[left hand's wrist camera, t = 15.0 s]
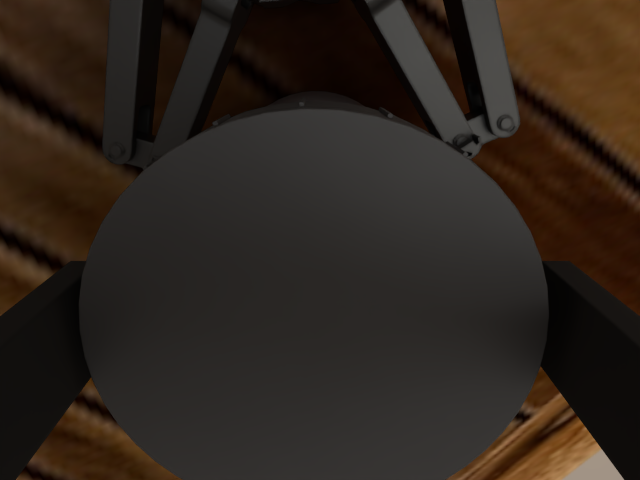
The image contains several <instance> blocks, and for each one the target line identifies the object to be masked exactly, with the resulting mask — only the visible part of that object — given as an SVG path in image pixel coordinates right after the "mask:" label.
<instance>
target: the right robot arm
mask: <svg viewBox="0 0 640 480" xmlns="http://www.w3.org/2000/svg"><path fill="white" fill-rule="evenodd" d="M297 1H300V0H202V3H201V13H200V16H199V19H198V22H197V25H196V27H195V30H194V33H193V36H192V38H191V41H190V44H189V47H188V50H187V52H186V55H185V58H184V61H183V63H182V66H181V69H180V72H179V74H178V77H177V80H176V83H175V86H174V88H173V91H172V94H171V97H170V99H169V102H168V105H167V108H166V111H165V113H164V116H163V119H162V122H161V124H160V127H159V130H158V133H157V136H154V135H152V127H153V116H154V105H155V94H156V82H157V71H158V60H159V49H160V38H161V27H162V15H163V4H164V0H110V8H109V27H108V47H107V66H106V86H105V105H104V124H103V144H102V148H103V153H104V155H105V157H106V158H107V159H108V160H109V161H110V162H112V163H114V164H124V163H126V164H130V165H134V166H137V167H141V168H144V167H145V166H146V165H148V164H150V163H151V162H153V161H155V160H156V159H158V158H160V157H162V156H163V155H164V154H165V153H167V152H168V151H170V150H171V149H173V148H175V147H177V146H178V145H180V144H182V143H183V142H185V141H187V140H189V139H190V138H192V137H194V136H196V135H197V134H199V133H201V131H202V128H203V126H204V123H205V121H206V118H207V116H208V113H209V110H210V108H211V105H212V103H213V100H214V98H215V95H216V93H217V90H218V88H219V85H220V82H221V80H222V77H223V75H224V72H225V70H226V67H227V65H228V62H229V60H230V57H231V55H232V52H233V49H234V47H235V44H236V42H237V39H238V37H239V34H240V32H241V30H242V29H243V27H244V26H245V24H246V22H247V19H248V17H249V14H250V12H251V9H252V7H253V4H254V3H255V4H257V5H261V6H263V7H264V8H277V7H284V6H287V5H289V4H292V3H295V2H297ZM303 1H307V2H312V3H317V4H330V3H338V1H339V0H303ZM351 1H352V2H353V4H354V6H355V8H356V9H357V11H358V13H359V14H360V16H361V17H362V18H363V19H364V21H365V22H366V24H367V25H368V27H369V29H370V30H371V32H372V34H373V36H374V37H375V39H376V41H377V43H378V44H379V46H380V48H381V49H382V51H383V53H384V55H385V56H386V58H387V60H388V62H389V63H390V65H391V67H392V68H393V70H394V72H395V74H396V75H397V77H398V79H399V80H400V82H401V84H402V86H403V87H404V89H405V91H406V93H407V94H408V96H409V98H410V99H411V101H412V103H413V105H414V106H415V108H416V110H417V112H418V113H419V115H420V117H421V118H422V120H423V122H424V124H425V125H426V127H427V129H428V131H429V132H430V134H432V135H433V136H435V137H437V138H438V139H440V140H442V141H443V142H445V143H446V141H448V142H450V143H451V144H453V145H455V146H457V147H458V148H460V149H462V150H463V151H465V152H466V153H468V156H467V158H469V159H470V160H471V158H473V157H475V156H476V155H477V154H478V153H479V151H480V149H481V145H482V144H484V143H487V142H489V141H491V140H494V139H496V138H499V137H501V138H505V137H509V136H511V135H513V134H514V133H515V132H516V131H517V129H518V127H519V124H520V117H519V112H518V107H517V102H516V97H515V92H514V88H513V83H512V78H511V73H510V68H509V63H508V58H507V54H506V49H505V44H504V39H503V34H502V29H501V24H500V20H499V15H498V10H497V5H496V0H443V2H444V6H445V11H446V15H447V19H448V23H449V27H450V31H451V35H452V39H453V43H454V48H455V52H456V56H457V60H458V64H459V68H460V72H461V76H462V80H463V85H464V89H465V93H466V97H467V101H468V105H469V109H470V112H469V113H467V114H465V115H463V113H462V111H461V109H460V107H459V105H458V103H457V102H456V100H455V98H454V96H453V94H452V92H451V91H450V89H449V87H448V85H447V83H446V81H445V80H444V78H443V76H442V74H441V72H440V70H439V69H438V67H437V65H436V63H435V61H434V59H433V58H432V56H431V54H430V52H429V50H428V48H427V47H426V45H425V43H424V41H423V39H422V37H421V36H420V34H419V32H418V30H417V28H416V26H415V25H414V23H413V21H412V19H411V17H410V15H409V14H408V12H407V10H406V8H405V6H404V4H403V3H402V1H401V0H351Z"/></svg>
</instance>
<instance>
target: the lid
mask: <svg viewBox="0 0 640 480" xmlns="http://www.w3.org/2000/svg"><path fill="white" fill-rule="evenodd" d="M212 123H213V126H211V127H209V128H208V129H206V130H204V131H202V132H201V133H199V134H197V135H196V136H194V137H192V138H190V139H189V140H187V141H185V142H183V143H182V144H180V145H178V146H177V147H175V148H173V149H171V150H170V151H168V152H167V153H165V154H164V155H163V156H162V157H160V158H158V159H156V160H155V161H153V162H151V163H150V164H148V165H146V166H145V167H144V168H143V170H144V171H143V172H142V173H141V174H140V175H139V176H138V177H137V178H136V179H135V180H134V181H133V182H132V183H131V184H130V185H129V187H128V188H127V189H126V190H125V191H124V192H123V193H122V194H121V195H120V196H119V198H118V199H117V201H116V202H115V204H114V205H113V207H112V208H111V210H110V211H109V213H108V214H107V216H106V217H105V218H104V220H103V221H102V224H101V226H100V228H99V230H98V232H97V234H96V236H95V239H94V241H93V243H92V245H91V247H90V250H89V253H88V257H87V260H86V264H85V267H84V271H83V274H82V280H81V289H80V297H79V329H80V336H81V341H82V346H83V352H84V357H85V360H86V363H87V365H88V368H89V371H90V374H91V377H92V380H93V382H94V384H95V386H96V388H97V390H98V392H99V394H100V396H101V398H102V400H103V402H104V404H105V405H106V407H107V408H108V410H109V411H110V413H111V414H112V416H113V417H114V418H115V420H116V421H117V423H118V424H119V426H120V427H121V428H122V429H123V430H124V431H125V432H126V433H127V435H128V436H129V437H130V438H131V439H132V440H133V441H134V442H135V444H136V445H138V446H139V447H140V448H141V449H142V450H143V451H144V452H145V453H147V454H148V455H149V456H150V457H151V458H152V459H153V460H155V461H156V462H157V463H159V464H160V465H162V466H163V467H164V468H166V469H167V470H169V471H170V472H172V473H173V474H174V475H176V476H177V477H179V478H181V479H183V480H445V479H447V478H449V477H450V476H452V475H453V474H455V473H456V472H458V471H459V470H461V469H462V468H464V467H466V466H467V465H468V464H469V463H470V462H472V461H473V460H474V459H475V458H477V457H478V456H479V455H480V454H481V453H483V452H484V451H485V450H486V449H487V448H488V447H489V446H490V445H491V444H492V443H493V442H494V441H495V440H496V439H497V438H498V437H499V436H500V435H501V434H502V433H503V431H504V430H505V429H506V427H507V426H508V425H509V424H510V422H511V421H512V420H513V418H514V417H515V416H516V414H517V413H518V412H519V410H520V408H521V406H522V405H523V403H524V401H525V399H526V398H527V396H528V394H529V392H530V391H531V388H532V386H533V383H534V381H535V378H536V376H537V373H538V371H539V368H540V366H541V362H542V358H543V354H544V350H545V345H546V341H547V332H548V321H549V305H548V289H547V283H546V278H545V274H544V269H543V265H542V260H541V257H540V255H539V252H538V250H537V247H536V245H535V242H534V239H533V237H532V234H531V232H530V230H529V229H528V227H527V225H526V223H525V222H524V220H523V218H522V217H521V215H520V213H519V211H518V210H517V208H516V207H515V205H514V204H513V203H512V202H511V200H510V199H509V198H508V197H507V195H506V194H505V193H504V192H503V191H502V189H501V188H500V187H499V186H498V184H497V183H496V182H495V181H494V180H493V179H492V178H491V177H489V176H488V175H487V174H486V173H485V172H484V171H483V170H482V169H481V168H479V167H478V166H477V165H476V164H475V163H474V162H473V161H472V160H470V159H469V158H467V156H468V153H466V152H465V151H463V150H462V149H460V148H458V147H457V146H455V145H453V144H451V143H450V142H448V141H446V143H445V142H443V141H442V140H440V139H438V138H437V137H435V136H433V135H432V134H430V133H428V132H427V131H425V130H423V129H422V128H419V127H417V126H415V125H413V124H411V123H409V122H407V121H405V120H403V119H401V118H398V117H396V116H394V115H393V114H392V113H390V112H389V111H387V110H386V109H384V108H381V107H379V110H375V109H372V108H368V107H364V106H358V105H352V104H346V103H340V102H326V101H306V98H301V100H300V102H291V103H281V104H274V105H270V106H266V107H262V108H258V109H254V110H250V111H246V112H243V113H241V114H238V115H236V116H233V117H231V116H230V114H228V115H225V116H223V117H222V118H220V119H218V120H216V121H214V122H212Z"/></svg>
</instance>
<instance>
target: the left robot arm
mask: <svg viewBox="0 0 640 480" xmlns="http://www.w3.org/2000/svg"><path fill="white" fill-rule="evenodd" d="M85 264H86V261H70V262H69V263H68V264H67V265H65V266H64V267H63V268H61V269H60V270H59V271H58V272H56V273H55V274H54V275H52V276H51V277H50V278H49V279H47V280H46V281H45V282H44V283H42V284H41V285H40V286H38V287H37V288H36V289H35V290H33V291H32V292H31V293H30V294H28V295H27V296H26V297H24V298H23V299H22V300H21V301H19V302H18V303H17V304H15V305H14V306H13V307H12V308H10V309H9V310H8V311H7V312H5V313H4V314H3V315H1V316H0V480H16V478H17V477H18V476H19V474H20V473H21V472H22V470H23V469H24V468H25V466H26V465H27V464H28V462H29V461H30V459H31V458H32V457H33V455H34V454H35V453H36V451H37V450H38V449H39V447H40V446H41V444H42V443H43V442H44V440H45V439H46V438H47V436H48V435H49V434H50V432H51V431H52V430H53V428H54V427H55V425H56V424H57V423H58V421H59V420H60V419H61V417H62V416H63V415H64V413H65V412H66V410H67V409H68V408H69V406H70V405H71V404H72V402H73V401H74V400H75V398H76V397H77V396H78V394H79V393H80V391H81V390H82V389H83V387H84V386H85V385H86V383H87V382H88V381H89V379H90V378H91V374H90V371H89V368H88V365H87V363H86V360H85V357H84V352H83V346H82V341H81V336H80V329H79V297H80V289H81V280H82V274H83V271H84V267H85ZM542 265H543V269H544V274H545V278H546V283H547V289H548V305H549V321H548V332H547V341H546V345H545V350H544V354H543V358H542V362H541V367H542V368H543V370H544V371H545V372H546V374H547V375H548V377H549V378H550V379H551V381H552V382H553V383H554V385H555V386H556V387H557V389H558V390H559V391H560V393H561V394H562V396H563V397H564V398H565V400H566V401H567V402H568V404H569V405H570V406H571V408H572V409H573V410H574V412H575V413H576V415H577V416H578V417H579V419H580V420H581V421H582V423H583V424H584V425H585V427H586V428H587V430H588V431H589V432H590V434H591V435H592V436H593V438H594V439H595V440H596V442H597V443H598V444H599V446H600V447H601V449H602V450H603V451H604V453H605V454H606V455H607V457H608V458H609V459H610V461H611V462H612V463H613V465H614V466H615V468H616V469H617V470H618V472H619V473H620V474H621V476H622V477H623V478H624V480H640V316H639V315H637V314H636V313H635V312H633V311H632V310H631V309H630V308H628V307H627V306H626V305H625V304H623V303H622V302H621V301H619V300H618V299H617V298H616V297H614V296H613V295H612V294H610V293H609V292H608V291H607V290H605V289H604V288H603V287H602V286H600V285H599V284H598V283H596V282H595V281H594V280H593V279H591V278H590V277H589V276H588V275H586V274H585V273H584V272H582V271H581V270H580V269H579V268H577V267H576V266H575V265H573V264H572V263H571V262H570V261H542Z"/></svg>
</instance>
